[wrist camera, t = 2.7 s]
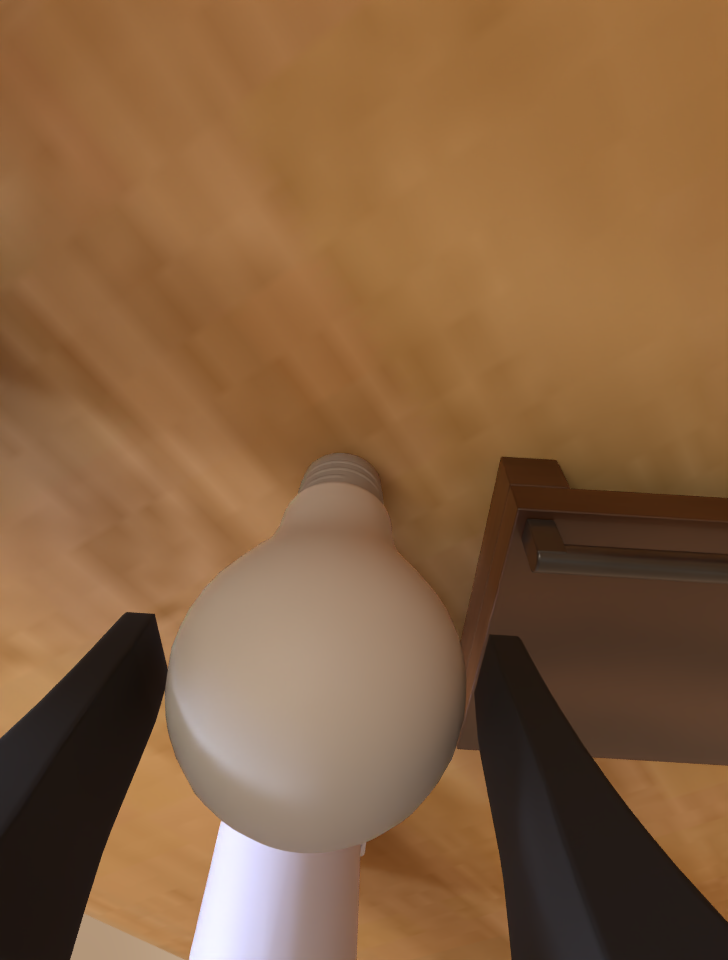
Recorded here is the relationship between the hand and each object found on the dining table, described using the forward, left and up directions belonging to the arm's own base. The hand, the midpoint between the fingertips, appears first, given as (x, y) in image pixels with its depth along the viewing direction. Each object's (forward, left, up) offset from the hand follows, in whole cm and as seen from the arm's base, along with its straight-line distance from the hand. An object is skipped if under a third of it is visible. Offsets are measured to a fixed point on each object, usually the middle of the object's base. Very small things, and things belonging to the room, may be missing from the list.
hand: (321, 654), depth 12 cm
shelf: (-5, -12, -7) cm, 15 cm away
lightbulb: (0, 0, -8) cm, 8 cm away
